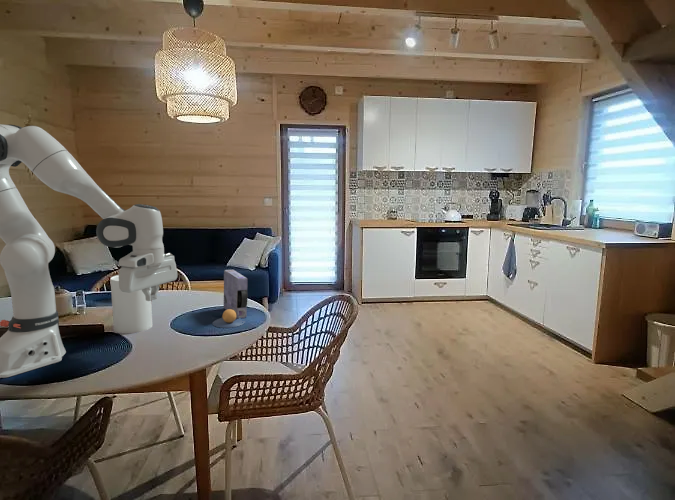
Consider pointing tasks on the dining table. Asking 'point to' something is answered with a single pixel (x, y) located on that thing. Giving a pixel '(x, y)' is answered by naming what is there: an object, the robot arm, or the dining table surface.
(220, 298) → the dining table surface
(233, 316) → the ball
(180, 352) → the dining table surface
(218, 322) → the disc
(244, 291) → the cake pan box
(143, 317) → the canister
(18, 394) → the dining table surface
